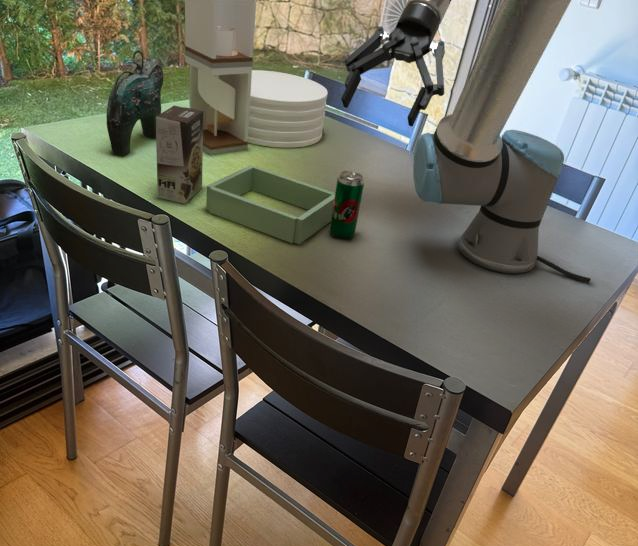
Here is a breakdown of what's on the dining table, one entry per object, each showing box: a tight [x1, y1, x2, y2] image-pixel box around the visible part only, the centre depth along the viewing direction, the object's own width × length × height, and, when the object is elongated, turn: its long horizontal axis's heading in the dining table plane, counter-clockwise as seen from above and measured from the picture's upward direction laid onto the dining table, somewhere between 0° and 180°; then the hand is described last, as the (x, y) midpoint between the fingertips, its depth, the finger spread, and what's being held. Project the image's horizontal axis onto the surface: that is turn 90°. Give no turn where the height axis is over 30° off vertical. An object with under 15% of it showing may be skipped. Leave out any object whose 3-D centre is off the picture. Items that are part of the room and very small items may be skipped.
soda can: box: [329, 170, 365, 240], centre depth 115 cm, size 5×5×12 cm
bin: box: [205, 165, 335, 245], centre depth 120 cm, size 21×16×5 cm
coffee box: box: [155, 105, 204, 205], centre depth 119 cm, size 9×6×16 cm
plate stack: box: [247, 69, 329, 149], centre depth 160 cm, size 28×28×12 cm
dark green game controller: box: [105, 49, 164, 157], centre depth 136 cm, size 20×6×20 cm, turn 164°
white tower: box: [184, 0, 257, 156], centre depth 138 cm, size 11×11×35 cm
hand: (376, 112), depth 112 cm, fingers open, 13 cm apart
